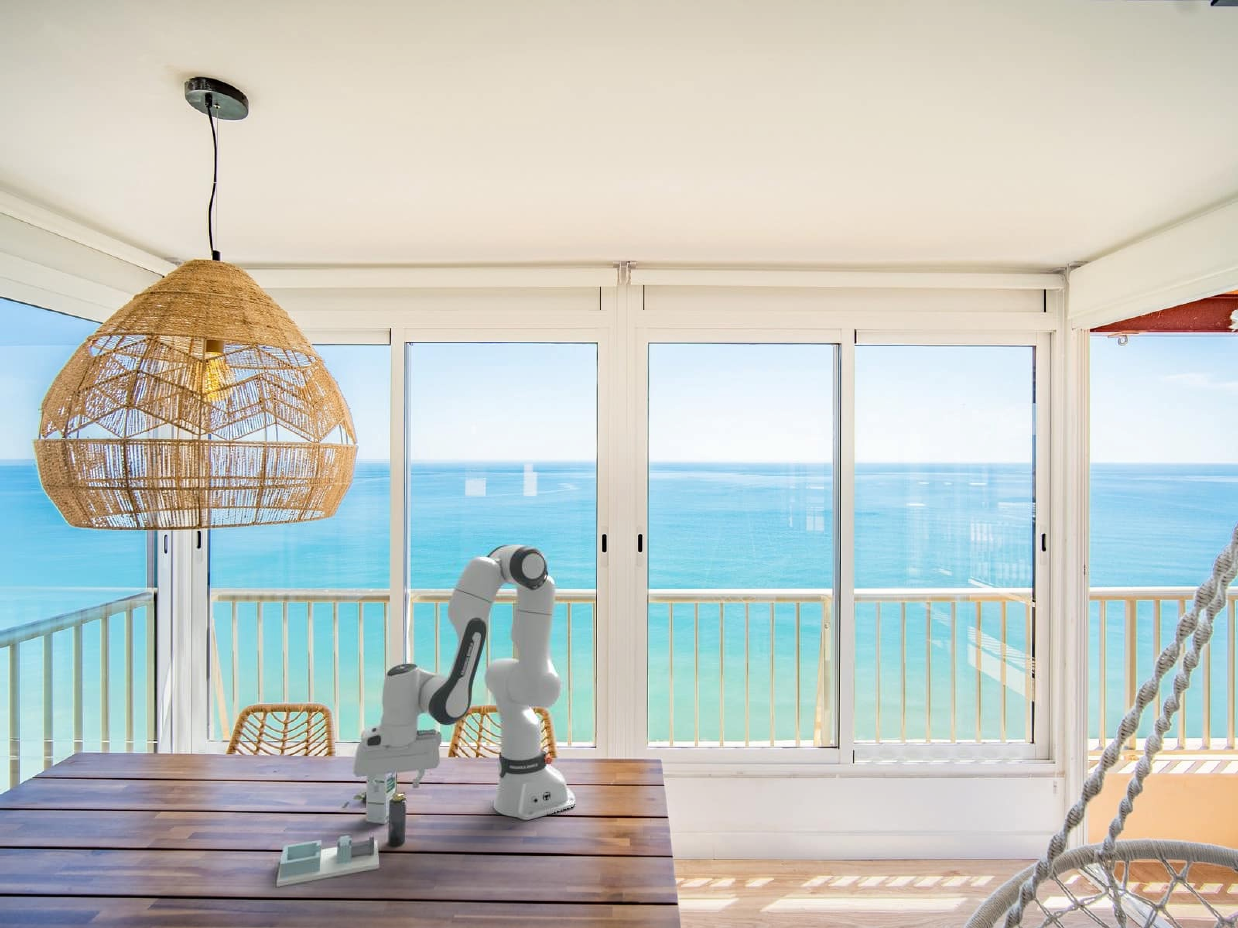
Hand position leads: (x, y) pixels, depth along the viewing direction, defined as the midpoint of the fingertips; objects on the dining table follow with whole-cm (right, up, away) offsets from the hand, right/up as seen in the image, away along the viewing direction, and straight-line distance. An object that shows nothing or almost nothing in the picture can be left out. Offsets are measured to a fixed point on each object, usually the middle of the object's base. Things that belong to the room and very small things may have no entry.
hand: (395, 789), depth 165 cm
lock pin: (-7, -11, -8) cm, 15 cm away
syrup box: (-8, -13, +12) cm, 19 cm away
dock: (-13, -12, -11) cm, 21 cm away
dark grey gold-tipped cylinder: (0, -13, 0) cm, 13 cm away
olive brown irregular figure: (-13, -14, +22) cm, 29 cm away
